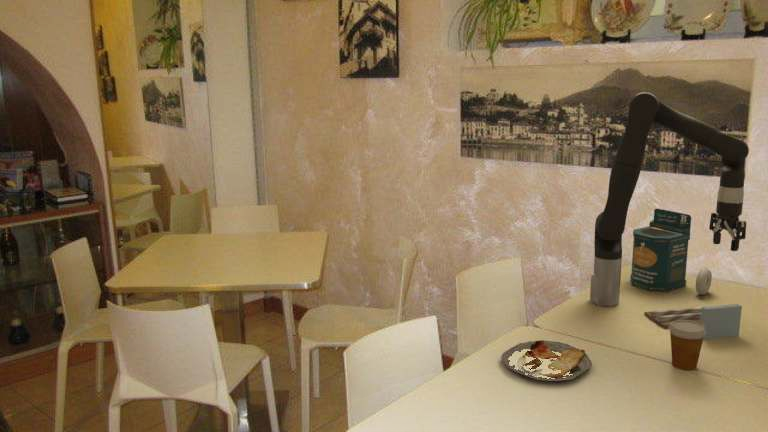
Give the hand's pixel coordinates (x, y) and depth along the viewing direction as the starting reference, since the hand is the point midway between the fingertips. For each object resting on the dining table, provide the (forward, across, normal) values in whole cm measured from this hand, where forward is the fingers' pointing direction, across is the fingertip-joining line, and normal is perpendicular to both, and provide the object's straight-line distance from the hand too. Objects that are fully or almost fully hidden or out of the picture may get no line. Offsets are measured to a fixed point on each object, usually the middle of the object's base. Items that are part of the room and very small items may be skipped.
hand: (725, 247), depth 213 cm
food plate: (+24, +23, -73) cm, 80 cm away
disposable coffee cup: (+24, +32, -35) cm, 54 cm away
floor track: (+23, +2, -12) cm, 26 cm away
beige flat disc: (+24, -17, +6) cm, 30 cm away
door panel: (+23, +17, -13) cm, 32 cm away
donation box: (+24, -32, -4) cm, 40 cm away
